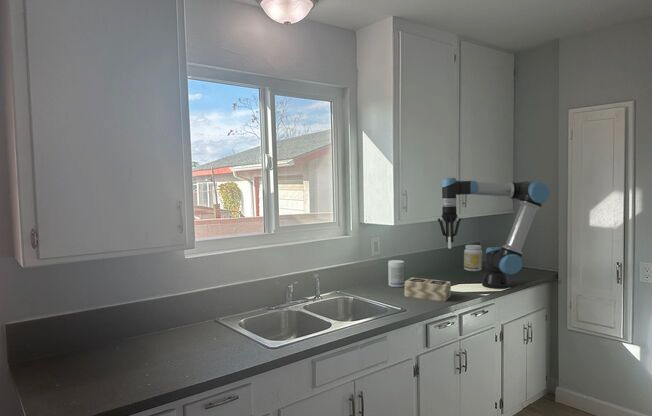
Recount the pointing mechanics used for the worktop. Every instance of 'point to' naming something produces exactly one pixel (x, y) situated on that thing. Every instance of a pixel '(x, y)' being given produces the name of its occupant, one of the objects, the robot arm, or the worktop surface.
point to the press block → (427, 289)
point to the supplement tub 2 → (473, 258)
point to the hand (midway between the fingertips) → (449, 248)
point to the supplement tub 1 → (396, 273)
